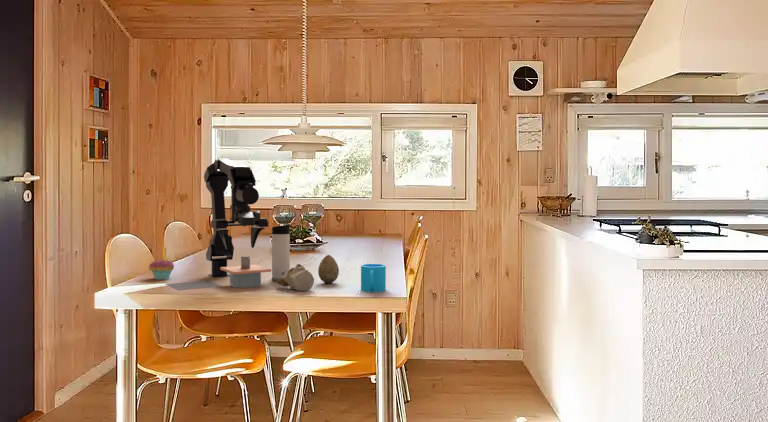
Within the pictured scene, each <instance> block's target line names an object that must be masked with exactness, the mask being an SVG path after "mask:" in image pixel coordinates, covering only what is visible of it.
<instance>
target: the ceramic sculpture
mask: <svg viewBox="0 0 768 422" xmlns="http://www.w3.org/2000/svg"><path fill="white" fill-rule="evenodd" d="M276 283H277V284H278V285H280V286H282V287H285V288H286V287H290V288H291V289H293V290H297V291H298V292H307V291H310V290H311V289H312V288H313V287H314V284H315V278H314V276H313V274H312V272H310V271H309V270H308V269H306V268H305V267H304V266H303V265H302V264H300V263H297V264H296V266H295V267H290V270H289V271H288V273H287V276H286V279H281V280H277V281H276Z"/></svg>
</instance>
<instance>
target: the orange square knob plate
mask: <svg viewBox="0 0 768 422" xmlns="http://www.w3.org/2000/svg"><path fill="white" fill-rule="evenodd" d="M220 270H223V271H226V272H227V273H228V274H230V273H232V274H234V275H235V274H247V273H260V272H261V273H270V272H271V273H272V268H268V267H265V266H261V265H258V264H251V256H250V255H242V256H240V265H236V266H234V265H233V266H227V267H220Z"/></svg>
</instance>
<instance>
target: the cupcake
mask: <svg viewBox="0 0 768 422" xmlns="http://www.w3.org/2000/svg"><path fill="white" fill-rule="evenodd" d="M166 256H167V247H164V250H163V259H156V260H153V261H152V262H150V264H149V266H148V270H149V271H151V272H152V274H153V277H154V279H155V280H168V279H170V277H171V274H172V271H174V268H175V264H174V263H172V261H169V260H167V259H166Z"/></svg>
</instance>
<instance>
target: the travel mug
mask: <svg viewBox="0 0 768 422" xmlns="http://www.w3.org/2000/svg"><path fill="white" fill-rule="evenodd" d="M290 227H291V224H286V225H277V226H272V227H271V280H272V281H273V280H274V281H273V282H277V280H281V279H286V276H287V273H288V271H289V270H290V269H291V267H290V265H291V264H290V262H291V260H290V259H291V257H290V250H291V247H290V246H291V245H290V241H291V239H290V237H291V236H290Z"/></svg>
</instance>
